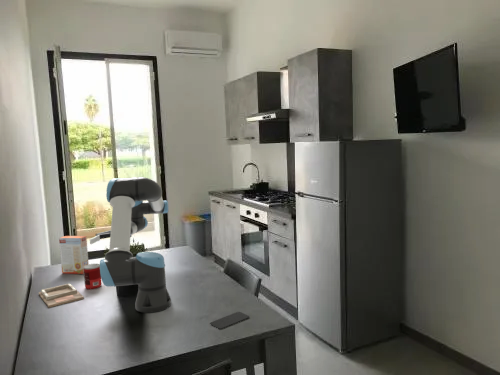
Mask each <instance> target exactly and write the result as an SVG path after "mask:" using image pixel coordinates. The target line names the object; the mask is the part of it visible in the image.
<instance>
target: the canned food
mask: <svg viewBox="0 0 500 375" xmlns="http://www.w3.org/2000/svg"><path fill="white" fill-rule="evenodd" d="M83 275H84V279H83V280H84V287H85V288H84V289H86V290H95V289H96V290H97V289H99V288H100V287H102V284H103V282H102V279H101V274H100V263H90V264H89V265H86V266H84V274H83Z"/></svg>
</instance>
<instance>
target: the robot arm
mask: <svg viewBox="0 0 500 375" xmlns="http://www.w3.org/2000/svg"><path fill="white" fill-rule="evenodd" d="M105 195H106V200H107V202H108V203H109V205H110V207H112V209H111V210H112V212H111V223H110V224H111V226H110V230H106V231H101V232H98V233H95V236H94V237H91V238H89V244H90V245H92V244H95V243H96V242H100V241H101V240H102V239H103V240H104V239H108V238H109V249H108V250H109V251H108V252H106V253H105V254H104V258H103V259H100V261H99V264H100V274H101V283H102V284H103V286H105V287H123V286H124V287H125V286H132V285H133V286H134V285H138V286H137V287H138V288H137V289H138V291H137V294H136V300H135V303H134V305H135V307H134V308H135V310H136V311H137V312H140V313H144V314H150V313H152V314H153V313H157V312H161V311H162V312H163V311H164V310H167V309H168V308H170V307H171V305H172V299H171V296H170V293H169V291H168V289H167V284H166V282H167V281H166V280H167V279H166V263H165V256H164V255H163V254H161V253H159V252H154V251H142V252H138V253H136V255H135V256H134V255H133V253H132V252H131V251H130V250H131V248H130V247H131V237H132V235H135V234H137V233H139V232H140V231H143V230H144V229H146V228H147V226H148V223H149V222H148V220H147V217H145V216H144V215H156V214H157V215H160V214H161V215H163V214H167V213H169V202H168V200H163V190H162V186H161V185H160V184H159V183H157V182H156V181H155V180H153V179H151V178H148V177H143V176H141V177H140V176H139V177H124V178H123V177H117V178H111V179H109V181H108V182H107V186H106V194H105Z"/></svg>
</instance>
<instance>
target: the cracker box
mask: <svg viewBox="0 0 500 375" xmlns="http://www.w3.org/2000/svg"><path fill="white" fill-rule="evenodd" d="M58 240H59V253H60V254H59V255H60V263H61V273H62V274H69V275H84V266H86V265H89V253H88V252H89V250H88V239H87V236H86V235H65V236H64V235H63V236H61V237H59V238H58Z"/></svg>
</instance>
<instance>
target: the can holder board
mask: <svg viewBox="0 0 500 375" xmlns="http://www.w3.org/2000/svg"><path fill="white" fill-rule="evenodd" d="M40 290H41V291H38V296H39V298H41V300H42V301H43V303H45V305H46V306H47V308H49V309H50V308H54V307H56V306H57V307H58V306H60V305H65V304H70V303H74V302H78V301H82V300H85V296H83V295H82V293H80V291H78V289H76V288H75V287H74V286H73V285H72V284H71V283H65V284H60V285H56V286H52V287H48V288H42V289H40Z"/></svg>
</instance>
